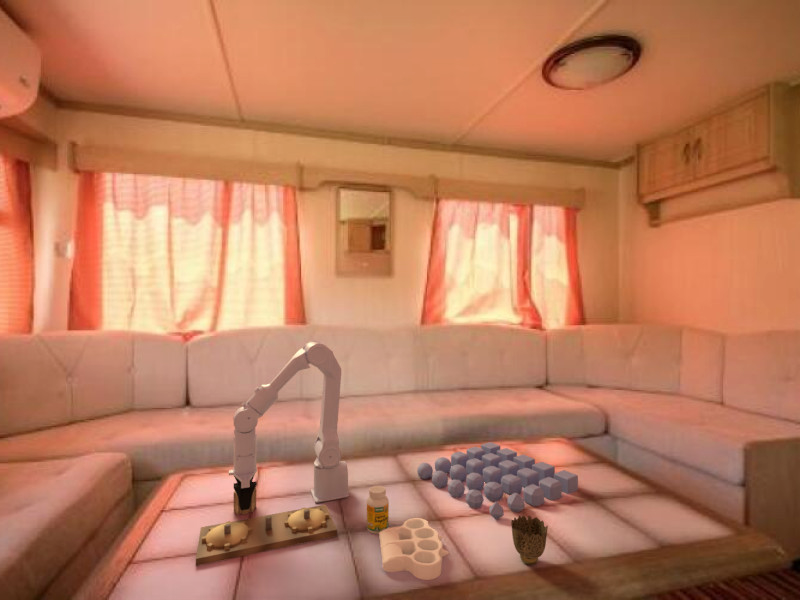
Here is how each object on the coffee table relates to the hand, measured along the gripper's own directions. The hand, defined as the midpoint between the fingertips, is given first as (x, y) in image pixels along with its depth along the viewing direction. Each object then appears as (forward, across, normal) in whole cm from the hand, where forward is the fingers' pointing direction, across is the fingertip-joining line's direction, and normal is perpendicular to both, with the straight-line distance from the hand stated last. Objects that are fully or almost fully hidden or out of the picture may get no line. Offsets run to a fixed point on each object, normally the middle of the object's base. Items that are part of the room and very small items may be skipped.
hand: (244, 503), depth 109 cm
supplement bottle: (+2, +22, +30) cm, 37 cm away
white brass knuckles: (+2, +34, +34) cm, 49 cm away
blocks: (+2, +11, +71) cm, 72 cm away
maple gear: (+1, 0, 0) cm, 1 cm away
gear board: (+1, +15, +5) cm, 16 cm away
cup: (+2, +46, +56) cm, 72 cm away
